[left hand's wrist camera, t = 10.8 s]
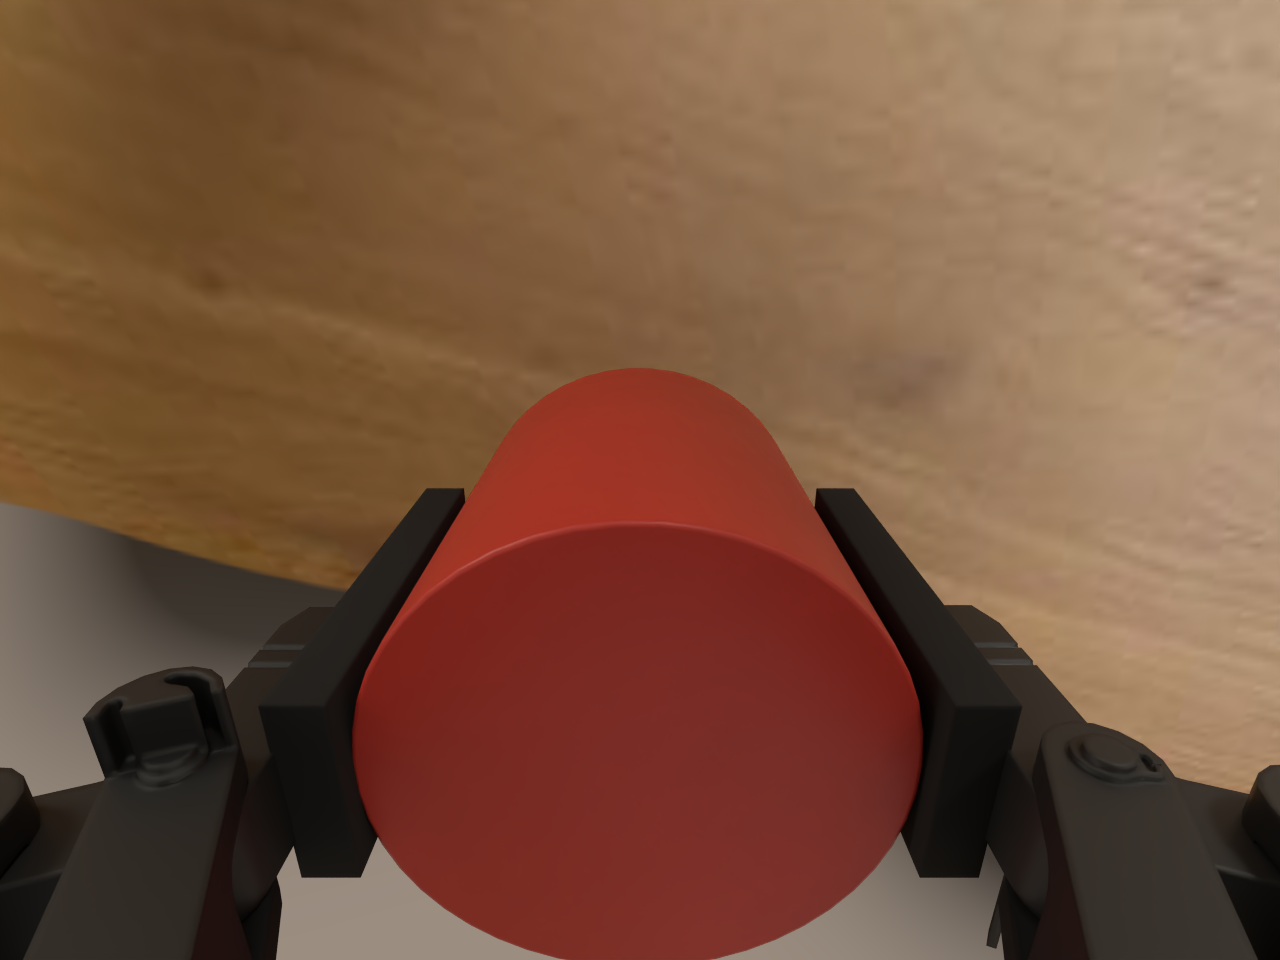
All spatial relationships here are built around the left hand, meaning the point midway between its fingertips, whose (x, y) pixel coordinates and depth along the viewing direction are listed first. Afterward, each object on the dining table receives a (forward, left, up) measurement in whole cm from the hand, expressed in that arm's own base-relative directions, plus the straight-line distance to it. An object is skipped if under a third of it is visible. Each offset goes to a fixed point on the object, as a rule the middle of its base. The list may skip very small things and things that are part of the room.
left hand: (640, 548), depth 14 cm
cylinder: (0, 0, -2) cm, 2 cm away
